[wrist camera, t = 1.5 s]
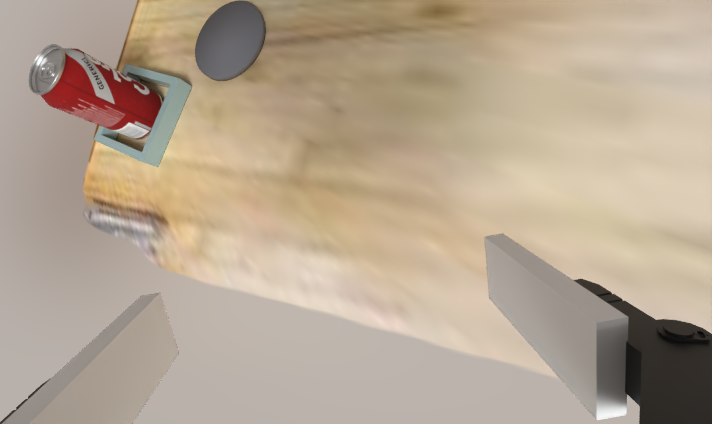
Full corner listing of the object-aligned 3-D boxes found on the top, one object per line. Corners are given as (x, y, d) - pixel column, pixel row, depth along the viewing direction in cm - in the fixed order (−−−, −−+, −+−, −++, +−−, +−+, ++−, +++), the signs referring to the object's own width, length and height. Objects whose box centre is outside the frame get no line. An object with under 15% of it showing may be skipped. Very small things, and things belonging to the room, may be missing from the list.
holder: (139, 71, 52) (126, 63, 50) (192, 86, 47) (179, 78, 45) (108, 145, 52) (93, 139, 50) (157, 167, 47) (143, 162, 45)
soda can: (160, 142, 48) (55, 98, 37) (125, 141, 50) (18, 100, 39) (172, 92, 48) (73, 35, 38) (137, 93, 51) (35, 41, 40)
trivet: (219, 1, 48) (214, -3, 47) (278, 9, 44) (274, 4, 43) (188, 73, 48) (183, 70, 47) (245, 87, 44) (240, 84, 43)
